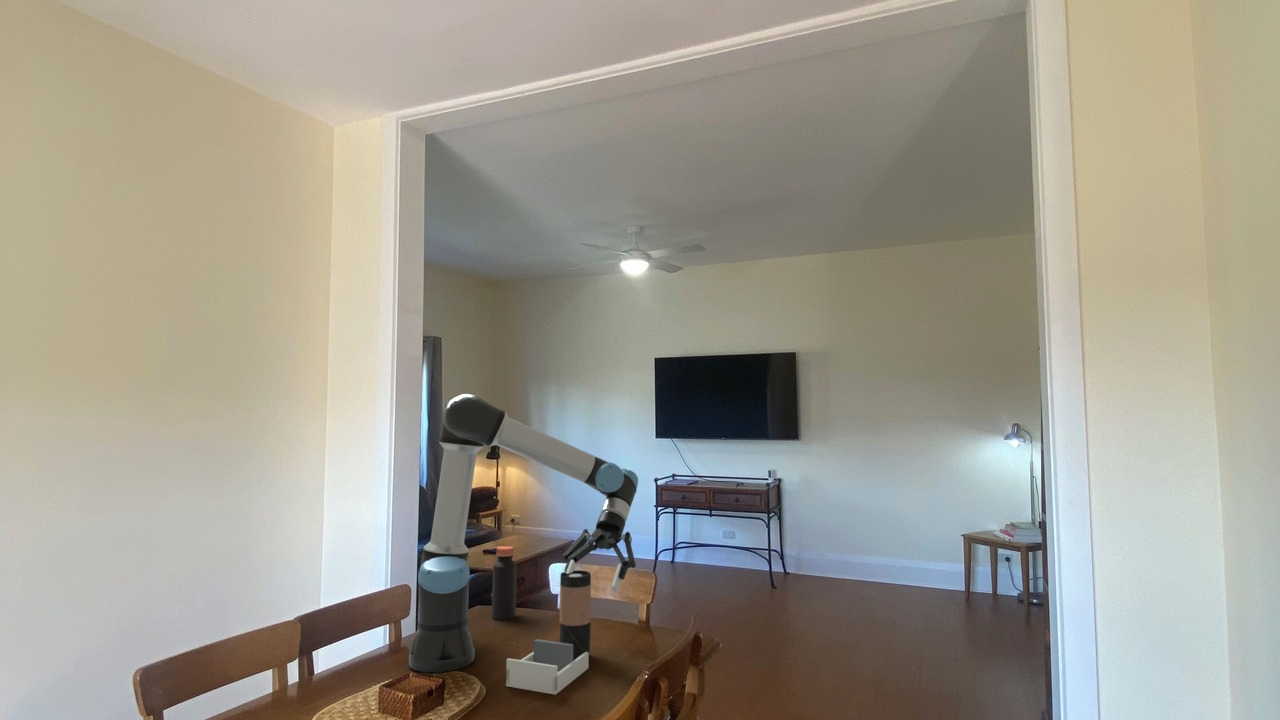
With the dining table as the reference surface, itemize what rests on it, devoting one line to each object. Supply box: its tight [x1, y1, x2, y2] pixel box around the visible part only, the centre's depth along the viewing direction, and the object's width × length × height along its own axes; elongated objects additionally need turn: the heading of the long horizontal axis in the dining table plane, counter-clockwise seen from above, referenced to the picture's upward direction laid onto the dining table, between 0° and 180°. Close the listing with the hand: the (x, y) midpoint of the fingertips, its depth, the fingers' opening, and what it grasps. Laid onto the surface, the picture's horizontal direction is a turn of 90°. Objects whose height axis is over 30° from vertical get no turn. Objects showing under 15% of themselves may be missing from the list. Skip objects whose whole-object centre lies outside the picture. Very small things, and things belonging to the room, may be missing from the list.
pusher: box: [533, 638, 573, 672], centre depth 151 cm, size 10×2×6 cm, turn 69°
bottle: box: [491, 545, 517, 621], centre depth 195 cm, size 7×7×20 cm
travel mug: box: [559, 569, 592, 661], centre depth 162 cm, size 8×8×20 cm
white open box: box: [505, 651, 590, 696], centre depth 149 cm, size 12×16×6 cm
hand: (589, 587), depth 167 cm, fingers open, 13 cm apart
